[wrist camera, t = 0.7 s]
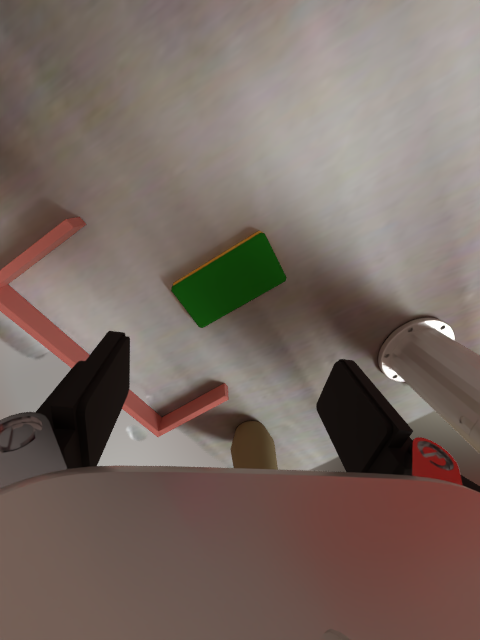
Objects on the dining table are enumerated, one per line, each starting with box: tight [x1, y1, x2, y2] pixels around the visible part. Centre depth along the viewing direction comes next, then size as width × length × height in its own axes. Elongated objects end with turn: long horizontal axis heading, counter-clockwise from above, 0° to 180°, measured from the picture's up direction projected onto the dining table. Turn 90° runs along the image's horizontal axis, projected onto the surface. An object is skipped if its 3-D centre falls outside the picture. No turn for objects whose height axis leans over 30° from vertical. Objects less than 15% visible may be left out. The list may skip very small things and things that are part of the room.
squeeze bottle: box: [231, 421, 278, 470], centre depth 40 cm, size 8×8×18 cm
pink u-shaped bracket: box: [0, 217, 229, 437], centre depth 35 cm, size 32×14×3 cm, turn 31°
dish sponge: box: [171, 231, 287, 328], centre depth 33 cm, size 7×14×2 cm, turn 120°
